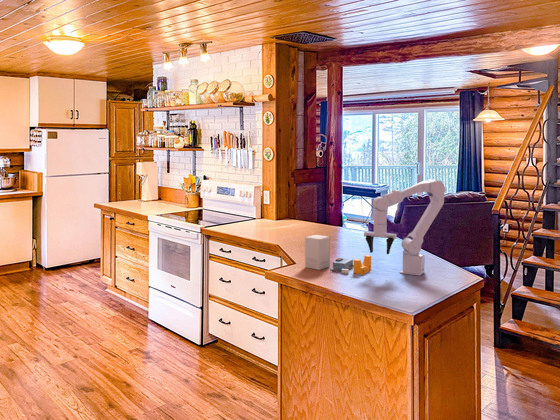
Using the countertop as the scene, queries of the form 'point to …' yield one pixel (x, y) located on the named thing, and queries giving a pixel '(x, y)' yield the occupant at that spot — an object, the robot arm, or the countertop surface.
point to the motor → (343, 265)
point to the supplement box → (317, 252)
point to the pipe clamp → (362, 265)
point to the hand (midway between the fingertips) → (379, 253)
